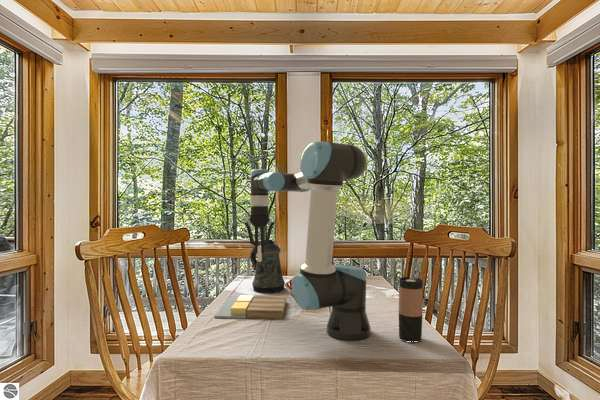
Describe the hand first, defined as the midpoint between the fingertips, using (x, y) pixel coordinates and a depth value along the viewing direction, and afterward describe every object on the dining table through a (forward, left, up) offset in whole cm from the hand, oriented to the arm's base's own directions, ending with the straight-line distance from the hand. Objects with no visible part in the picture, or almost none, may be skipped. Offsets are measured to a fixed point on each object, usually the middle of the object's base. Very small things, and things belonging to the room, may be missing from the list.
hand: (259, 261), depth 161 cm
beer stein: (+32, +1, -20) cm, 37 cm away
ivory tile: (+2, +6, -19) cm, 20 cm away
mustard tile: (-9, +6, -19) cm, 22 cm away
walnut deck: (-3, -4, -20) cm, 20 cm away
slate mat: (-3, +9, -20) cm, 22 cm away
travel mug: (-33, -55, -20) cm, 67 cm away
